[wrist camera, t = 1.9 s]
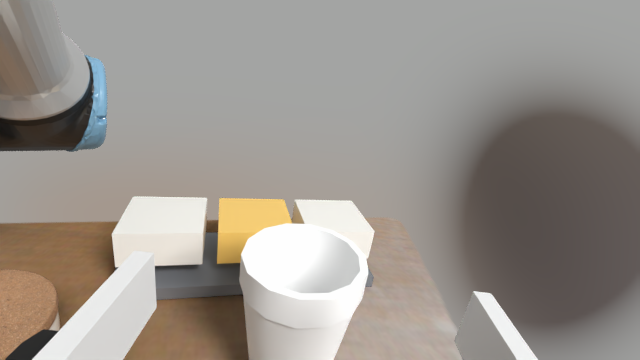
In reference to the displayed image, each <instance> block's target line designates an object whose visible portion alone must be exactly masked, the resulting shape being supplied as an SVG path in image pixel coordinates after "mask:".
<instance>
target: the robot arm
mask: <svg viewBox="0 0 640 360" xmlns="http://www.w3.org/2000/svg"><path fill="white" fill-rule="evenodd" d="M106 115H107V87H106V75H105V68H104V66H103V64H102V62H101V61H100V60H99V59H96V58H92V57H90V56H87V55H84V54H83V53H82V51H81V50H80V48H79V47H78V46H77V45H76V44H75V43H74V42H73V41H72V40H71V39H70V38H68V37H67V36H66V35H64V34H63V33H62V30H61V27H60V24H59V20H58V16H57V13H56V9H55V6H54V2H53V0H0V151H45V150H66V151H71V152H73V151H78V150H82V149H95V148H98V147H100V146H101V145H102V144H103V142H104V140H105V136H106V127H107V120H106ZM156 307H157V305H156V284H155V262H154V253H151V252H142V251H134V252H133V253H132V254H131V255H130V256H129V257H128V258H127V259H126V260H125V261H124V262H123V263H122V264H121V265H120V266H119V268H118V269H117V270H116V271H115V272H114V273H113V274H112V275H111V276H110V277H109V278H108V279H107V280H106V281H105V282H104V284H103V285H102V286H101V287H100V288H99V289H98V290H97V291H96V292H95V293H94V294H93V295H92V296H91V297H90V298H89V299H88V301H87V302H86V303H85V304H84V305H83V306H82V307H81V308H80V309H79V310H78V311H77V312H76V313H75V314H74V315H73V317H72V318H71V319H70V320H69V321H68V322H67V323H66V324H65V325H64V326H63V327H62V328H61V329H60V330H59V331H55V330H46V329H43V330H41V331H40V332H38V333H37V334H35V335H33V336H32V337H30V338H28V339H27V340H25V341H24V342H22V343H21V344H20V345H19V346H18V347H17V348H16V349H15V350H14V351H13V352H12V353H11V354H10V355H9V356H8V357H7V358H6V359H5V360H123V359H124V357H125V356H126V354H127V352H128V351H129V349H130V348H131V346H132V345H133V343H134V342H135V340H136V338H137V337H138V335H139V334H140V332H141V331H142V329H143V328H144V326H145V325H146V323H147V321H148V320H149V318H150V317H151V315H152V314H153V312H154V311H155V309H156ZM454 341H455V343H456V346H457V348H458V350H459V352H460V354H461V356H462V359H463V360H538V359H537V358H536V357H535V355H534V354H533V352H532V351H531V349H530V348H529V347H528V345H527V344H526V342H525V341H524V339H523V338H522V337H521V335H520V334H519V333H518V331H517V330H516V328H515V327H514V325H513V324H512V322H511V321H510V320H509V318H508V317H507V315H506V314H505V313H504V311H503V310H502V308H501V307H500V306H499V304H498V303H497V301H496V300H495V298H494V297H493V296H492V294H491V293H483V292H475V291H473V293H472V296H471V299H470V301H469V304H468V306H467V309H466V312H465V314H464V317H463V319H462V322H461V324H460V327H459V330H458V332H457V335H456V337H455V340H454Z"/></svg>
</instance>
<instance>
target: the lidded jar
mask: <svg viewBox="0 0 640 360" xmlns="http://www.w3.org/2000/svg"><path fill="white" fill-rule="evenodd" d="M58 304H59V302H58V296H57V292H56V289H55V287H54V285H53V284H52V283H51V282H50V281H49V280H48V279H46V278H44V277H42V276H40V275H38V274H35V273H31V272H27V271H21V270H0V360H5V359H6V358H7V357H8V356H9V355H10V354H11V353H12V352H13V351H14V350H15V349H16V348H17V347H18V346H19V345H20V344H21V343H22V342H24V341H25V340H27V339H28V338H30V337H32V336H33V335H35V334H37V333H38V332H40V331H41V330H43V329H46V330H55V331H59V330H60V320H59V313H58Z"/></svg>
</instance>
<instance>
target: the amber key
mask: <svg viewBox="0 0 640 360" xmlns="http://www.w3.org/2000/svg"><path fill="white" fill-rule="evenodd" d="M286 223H290V224H292V221H291V218H290V216H289V213H288V210H287V207H286V204H285V201H284V200H283V199H236V198H235V199H234V198H220V199H219V224H218V250H217V264H223V263H240V262H241V253H242V251H243V249H244V247H245V245H246V242H247V240H248V239H249V238H250V237H252V236H253V235H255V234H256V233H258V232H259V231H261V230H263V229H264V228H268V227H272V226H277V225H281V224H286Z"/></svg>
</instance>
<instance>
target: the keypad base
mask: <svg viewBox="0 0 640 360" xmlns="http://www.w3.org/2000/svg"><path fill="white" fill-rule="evenodd" d="M217 250H218V233H206V234H205V244H204V254H203V263H202V264H194V265H166V266H155V284H156V300H163V299H179V298H195V297H211V296H227V295H243V292H242V289H241V285H240V282H239V277H240V263H223V264H217ZM118 268H119V267H116V270H117V269H118ZM116 270H115V271H116ZM373 278H374V277H373V275H372V273H371V272H370V270H369V268H368V277H367V281H366V285H365V287H371V286H372V282H373Z"/></svg>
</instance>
